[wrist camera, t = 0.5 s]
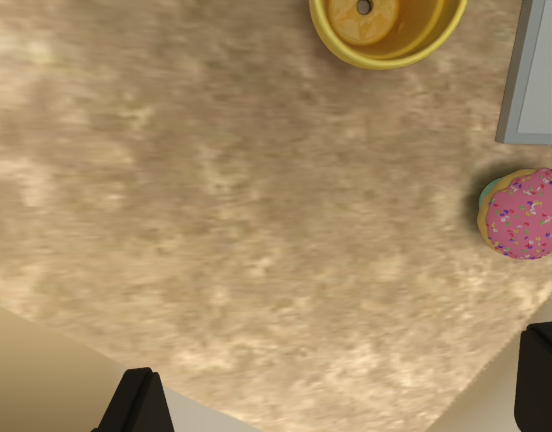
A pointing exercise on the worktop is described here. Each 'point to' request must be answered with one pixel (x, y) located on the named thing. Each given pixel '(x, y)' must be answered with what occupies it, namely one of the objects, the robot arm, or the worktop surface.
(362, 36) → the plant pot
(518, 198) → the cupcake
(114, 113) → the worktop surface
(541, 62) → the grey flat block
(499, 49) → the worktop surface
